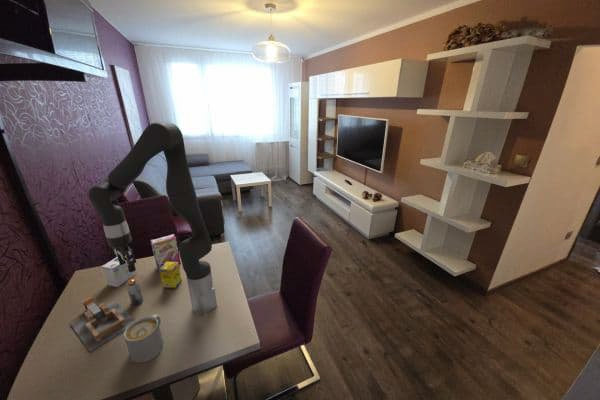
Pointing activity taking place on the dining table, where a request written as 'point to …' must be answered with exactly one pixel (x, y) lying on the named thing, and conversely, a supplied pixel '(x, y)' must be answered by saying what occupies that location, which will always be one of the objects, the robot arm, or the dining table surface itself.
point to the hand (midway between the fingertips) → (127, 267)
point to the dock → (102, 325)
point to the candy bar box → (165, 250)
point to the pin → (92, 307)
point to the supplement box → (170, 275)
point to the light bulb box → (116, 272)
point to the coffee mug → (144, 338)
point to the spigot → (134, 291)
